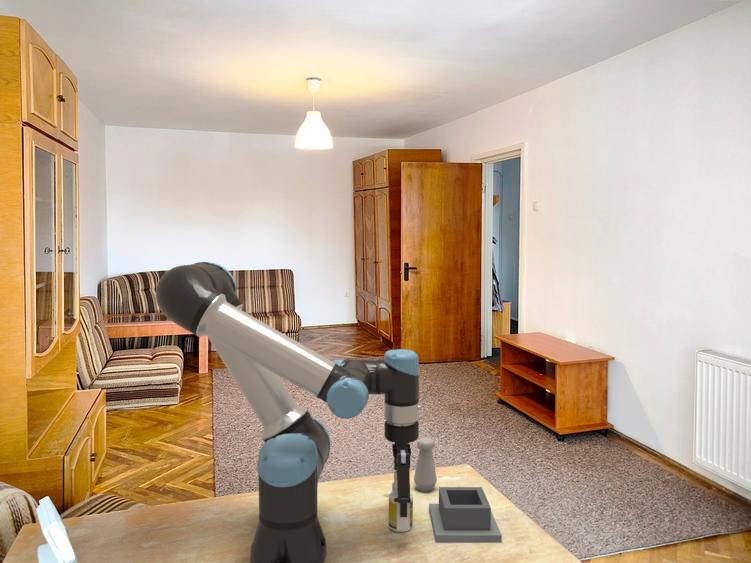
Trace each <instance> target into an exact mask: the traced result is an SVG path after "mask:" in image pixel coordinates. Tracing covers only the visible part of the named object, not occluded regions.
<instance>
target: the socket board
mask: <svg viewBox="0 0 751 563" xmlns="http://www.w3.org/2000/svg"><path fill="white" fill-rule="evenodd" d="M428 511H429V516H430V522H431V526H432V530H433V534H434V540H435V542H436V543H502V541H503V540H502V538H503V535H502V533H501V531H500V528H499V525H498V523H497V520H496V519H495V517H494V516H495V515H494V513H493V511H492V507H491V506H490V503H489V500H488V498H487V495H486V494H485V492H484V489H483V487H482V486H479V487H478V486H438V503H429V504H428Z"/></svg>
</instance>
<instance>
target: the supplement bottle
mask: <svg viewBox="0 0 751 563" xmlns="http://www.w3.org/2000/svg"><path fill="white" fill-rule="evenodd" d="M397 497H398V493H397V481H396V482H394V481H393V482H392V486H391V492H390V493H389V495H388V517H387V518H388V519H387V520H388V522H387V524H388V528H389V529H390V530H392V531H394V532H397V533H406V532H409V531H410V530H411V529H412V528H413V516H414V515H413V514H414V513H413V511H414V510H413V509H414V496H413V494H412V492H410V499H411V502H410V530H397V502H394V498H397Z"/></svg>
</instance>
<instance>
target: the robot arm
mask: <svg viewBox="0 0 751 563" xmlns="http://www.w3.org/2000/svg"><path fill="white" fill-rule="evenodd" d="M155 300H156V303H157V306H158V308H159V310H160V312H161V313H162V314H163V315H164V316H165V317H166V318H167V319H169V320H170V322H173V323H174V324H175V325H177V326H179V327H180V328H182V329H184V330H186V331H188V332H189V333H191V334H193V335H195V336H196V337H199V338H200V337H204V336H207V339H208V340H209V342H210V344H211V345H212V347H213V348H214V350H215V351H216V353H217V355H218V356H219V358H220V359H221V361H222V362H223V365H224V366H225V367H226V369H227V371H228V372H229V373H230V375H231V378H232V379H233V380H234V382H235V383H236V385H237V387H238V388H239V390H240V391H241V393H242V394H243V396H244V397H245V399H246V401H247V402H248V404H249V406H250V408H251V409H252V411H253V412H254V414H255V415H256V417H257V419H258V421H259V422H260V424H261V425H262V434H261V440H262V441H263V442H264V444H262V445H261V446H260V447H261V448H260V450H259V451H258V459H257V472H258V519H259V520H258V524H257V527H256V531H255V534H254V538H253V541H252V544H251V546H250V563H324V562H325V561H326V558H327V541H326V538H325V534H324V532H323V528H322V526H321V522H320V520H319V518H318V484H319V479H320V478H321V474H322V472H323V470H324V467H325V465H326V463H327V461H328V459H329V457H330V453H331V437H330V434H329V431H328V429H327V427H326V426H325V425H324V423H322V422H321V421H320V420H319V419H316V418H314V417H313V416H312V415H311V414H310V411H309V410H308V408H307V407H304V406H301V405H300V406H299V405H297V403H296V402H295V400H294V399H293V397H292V395H291V394H290V393H289V390H288V388H287V387H286V386H285V384H284V383H283V380H281V378H282V379H284V380H286V381H288V382H289V383H291V384H293V385H295V386H297V387H298V388H300V389H301V390H303V391H305V392H307V393H309V394H311V395H312V396H315V397H316V398H318V399H319V400H321V401H323V402H325V403H326V404H327V407H328V409H329V410H330V412H331V413H332V414H333V415H334V416H335V417H337V418H339V419H345V420H350V419H353V418H355V417H357V416H359V415H360V414H361V413H362V412H363V411H364V409H365V407H366V405H368V401H369V395H377V396H378V395H384V400H383V401H384V403H383V404H384V406H383V407H384V408H383V413H384V414H383V418H384V420H385V421H384V438H385V439H386V440H387V441H389V442H391V443H392V445H391V447H392V448H391V449H392V450H391V451H392V456H393V457H392V458H393V462H392V463H393V470H394V471H393V483H394V482H396V481H397V493H398V497H397V498H394V502H397V530H409V531H410V530H411V529H410V502H411V499H410V493H411V482H410V481H411V479H410V469H411V456H412V448H411V444H410V443H413V442H416V441H418V440H419V437H420V436H419V432H420V429H419V428H420V427H419V425H420V423H419V422H418V420H419V411H421V410H422V406H421V405H419V401H420V400H419V398H420V392H419V391H420V369H419V368H420V364H419V356H418V354H417V353H416V351H414V350H410V349H403V348H399V349H398V348H397V349H389V350H387V351H386V352H384V357H383V359H382V358H381V359H354V358H353V359H350V358H344V359H343V358H342V359H333V360H332V359H328V358H327V357H325V356H324V355H322V354H320V353H318V352H317V351H314V350H313V349H311V348H309V347H307V346H306V345H304V344H302V343H300V342H299V341H297V340H295V339H293V338H292V337H290V336H288V335H286V334H285V333H282V332H281V331H279V330H277V329H276V328H274V327H272V326H270V325H269V324H266V323H265V322H264V321H262V320H260V319H258V318H256V317H254V316H252V315H251V314H249V313H247V312H246V311H243V306H244V304H243V303H242V301H241V300H240V297H239V296H238V294H237V285H236V281H235V278H234V277H233V275H232V273H231V272H230V271H229V270H228V269H227V268H226V267H224V266H222V265H221V264H218V263H215V262H209V261H199V262H195V263H193V264H192V263H191V264H183V265H178V266H175V267H172V268H171V269H168V270H167V271H165V273H164V274H163V275H162V276H161V277H160V279H159V281H158V283H157V285H156V288H155Z"/></svg>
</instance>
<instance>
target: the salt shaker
mask: <svg viewBox="0 0 751 563" xmlns="http://www.w3.org/2000/svg"><path fill="white" fill-rule="evenodd" d="M416 441H417V442H416V446H417V449H419V451H418V456H417V462H416V466H415V469H414V470H415V472H414V475H413V476H414V477H413V481H414V484H415V487H416V489H417V491H420V492H422V493H428V492H429V493H430V492H432V490H434V488H435V486H436V484H437V481H438V480H437V473H436V472H437V471H436V467H435V462H434V460H435V459H434V455H433V450H434V448H435V442H434V439H432V438H431V437H420V438H418V439H417V440H416Z"/></svg>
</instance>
